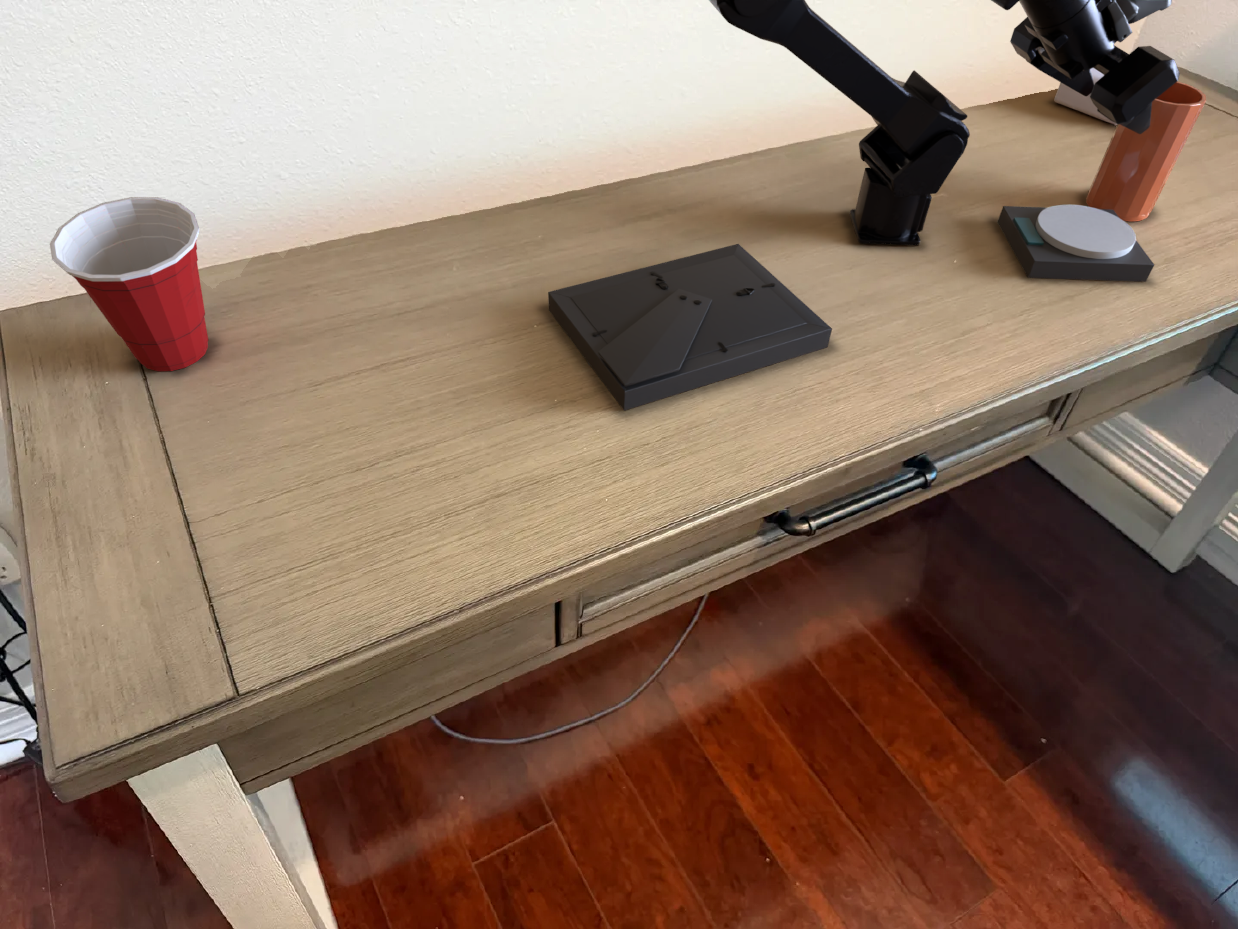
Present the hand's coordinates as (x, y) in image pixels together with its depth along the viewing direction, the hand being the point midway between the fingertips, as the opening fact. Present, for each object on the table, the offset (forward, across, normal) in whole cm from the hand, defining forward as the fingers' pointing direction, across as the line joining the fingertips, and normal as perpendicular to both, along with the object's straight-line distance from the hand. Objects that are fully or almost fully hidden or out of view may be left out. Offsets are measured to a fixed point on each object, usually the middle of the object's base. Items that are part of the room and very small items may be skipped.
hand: (1116, 110), depth 92 cm
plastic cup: (-59, -8, +75) cm, 95 cm away
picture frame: (-27, -13, +43) cm, 52 cm away
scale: (+4, -8, +12) cm, 15 cm away
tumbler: (+12, 0, +4) cm, 13 cm away
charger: (+23, +22, -7) cm, 33 cm away
